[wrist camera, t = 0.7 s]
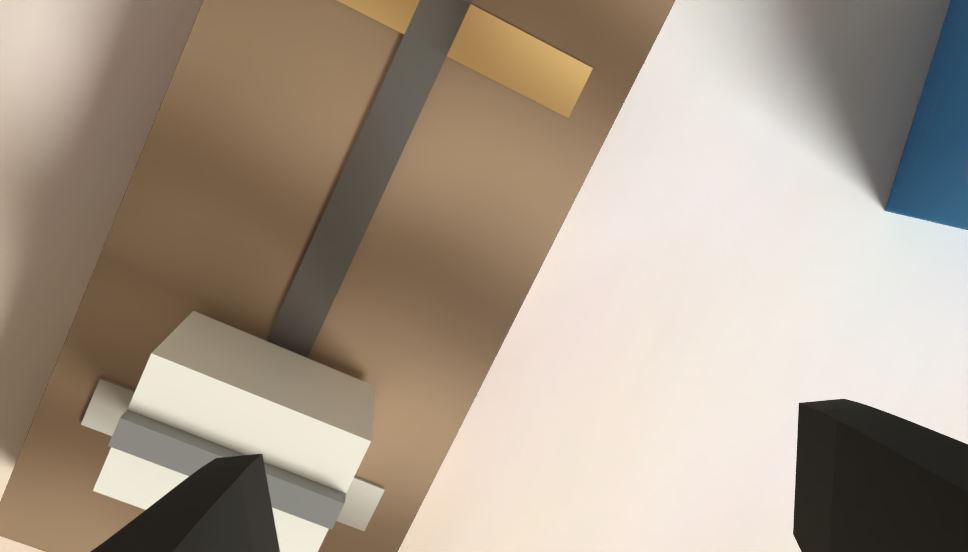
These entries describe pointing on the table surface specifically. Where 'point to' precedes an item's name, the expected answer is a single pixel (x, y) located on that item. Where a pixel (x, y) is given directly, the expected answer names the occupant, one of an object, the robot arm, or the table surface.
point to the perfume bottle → (939, 134)
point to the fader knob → (243, 425)
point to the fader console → (338, 225)
